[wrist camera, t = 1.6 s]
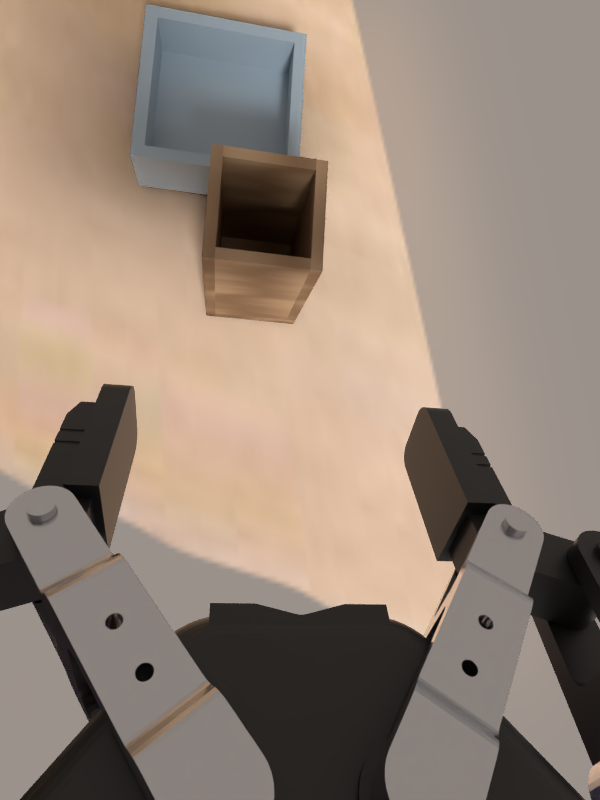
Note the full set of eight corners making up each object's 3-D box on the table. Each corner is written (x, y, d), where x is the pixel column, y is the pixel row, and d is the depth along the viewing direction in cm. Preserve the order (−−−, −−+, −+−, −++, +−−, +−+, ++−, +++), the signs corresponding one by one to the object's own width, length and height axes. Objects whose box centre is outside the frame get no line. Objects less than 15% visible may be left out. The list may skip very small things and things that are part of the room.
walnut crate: (206, 315, 34) (202, 257, 24) (213, 232, 35) (211, 143, 25) (293, 323, 35) (322, 271, 25) (297, 242, 36) (327, 161, 26)
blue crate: (138, 185, 34) (129, 155, 31) (153, 47, 36) (146, 3, 32) (290, 206, 36) (297, 179, 33) (298, 73, 37) (306, 34, 34)
